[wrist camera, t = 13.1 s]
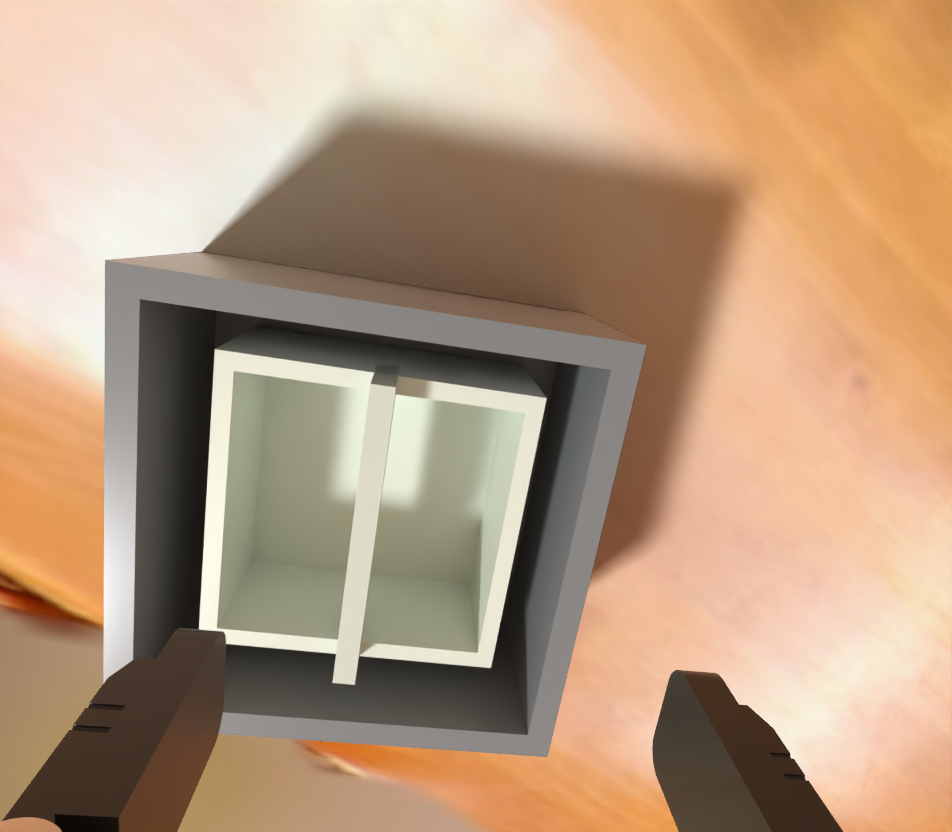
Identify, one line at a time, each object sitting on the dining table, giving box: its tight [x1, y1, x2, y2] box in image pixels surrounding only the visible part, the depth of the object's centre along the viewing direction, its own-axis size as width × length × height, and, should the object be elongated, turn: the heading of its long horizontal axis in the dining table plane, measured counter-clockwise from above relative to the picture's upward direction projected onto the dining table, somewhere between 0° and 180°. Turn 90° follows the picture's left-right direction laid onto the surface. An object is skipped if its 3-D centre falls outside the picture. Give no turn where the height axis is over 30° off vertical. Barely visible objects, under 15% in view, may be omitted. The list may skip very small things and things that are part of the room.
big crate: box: [104, 252, 647, 757], centre depth 31 cm, size 20×20×10 cm
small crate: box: [199, 325, 547, 685], centre depth 31 cm, size 14×14×9 cm
